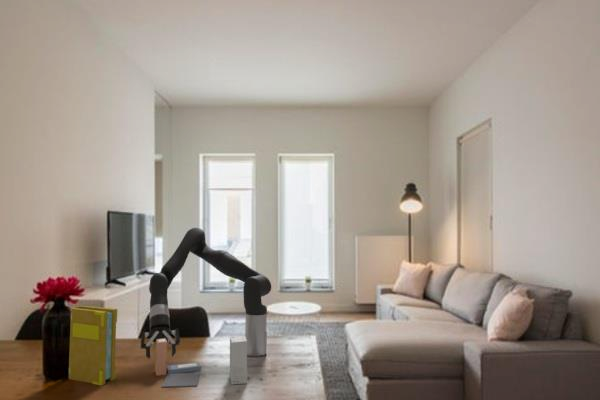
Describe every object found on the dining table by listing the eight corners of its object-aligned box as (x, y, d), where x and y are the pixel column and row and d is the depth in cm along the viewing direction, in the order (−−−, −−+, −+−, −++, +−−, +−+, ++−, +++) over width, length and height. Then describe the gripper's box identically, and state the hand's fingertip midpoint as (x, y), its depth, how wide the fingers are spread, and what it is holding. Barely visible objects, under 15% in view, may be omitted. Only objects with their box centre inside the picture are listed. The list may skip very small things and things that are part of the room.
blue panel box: (198, 365, 170) (198, 361, 170) (200, 370, 165) (200, 366, 165) (167, 369, 165) (167, 365, 165) (168, 374, 161) (168, 369, 161)
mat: (200, 373, 161) (200, 372, 161) (197, 386, 149) (197, 385, 149) (167, 374, 160) (167, 373, 160) (161, 387, 148) (161, 386, 148)
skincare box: (247, 384, 152) (248, 341, 153) (230, 385, 151) (231, 342, 152) (245, 375, 160) (246, 335, 161) (228, 376, 159) (229, 335, 160)
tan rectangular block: (165, 369, 165) (165, 338, 165) (166, 374, 160) (167, 341, 161) (155, 371, 164) (156, 338, 164) (156, 375, 159) (157, 342, 159)
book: (115, 378, 155) (117, 308, 156) (101, 385, 149) (103, 312, 150) (78, 372, 161) (81, 305, 162) (63, 378, 155) (66, 308, 156)
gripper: (177, 322, 177) (179, 359, 166) (140, 324, 172) (140, 363, 161) (178, 311, 173) (181, 349, 162) (141, 314, 167) (141, 353, 156)
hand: (161, 356), depth 161 cm, fingers open, 8 cm apart
